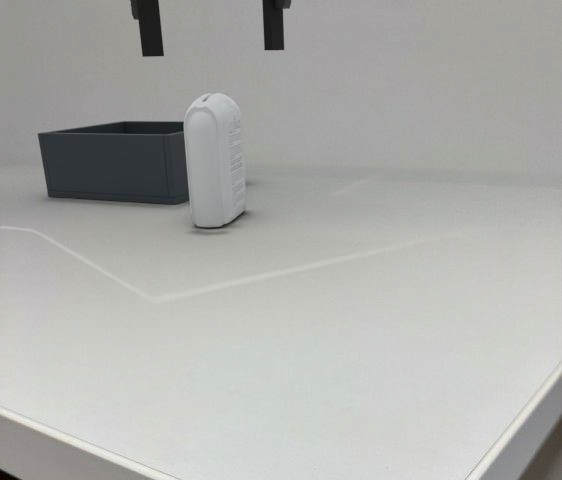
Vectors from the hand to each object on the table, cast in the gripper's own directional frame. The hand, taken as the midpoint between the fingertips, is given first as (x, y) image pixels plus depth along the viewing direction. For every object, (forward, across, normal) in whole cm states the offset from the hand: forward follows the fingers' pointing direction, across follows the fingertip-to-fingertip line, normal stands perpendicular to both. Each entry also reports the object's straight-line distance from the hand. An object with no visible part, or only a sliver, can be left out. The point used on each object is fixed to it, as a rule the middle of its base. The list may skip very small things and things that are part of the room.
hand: (211, 54), depth 67 cm
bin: (+16, +19, -14) cm, 28 cm away
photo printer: (+16, 0, 0) cm, 16 cm away
